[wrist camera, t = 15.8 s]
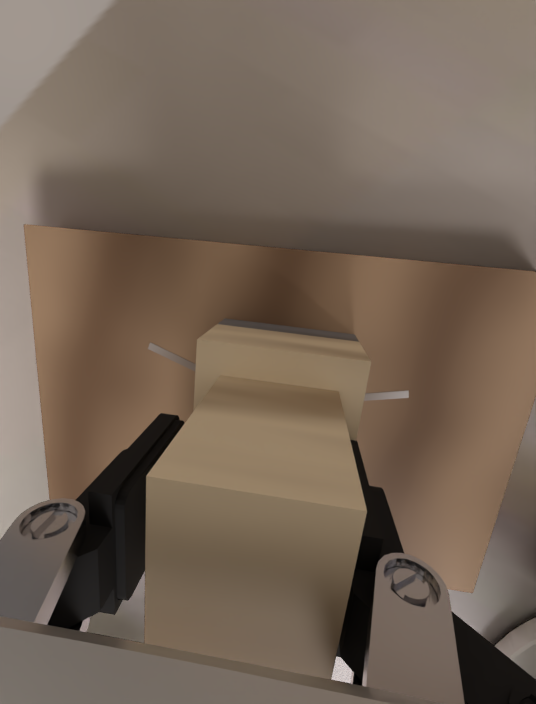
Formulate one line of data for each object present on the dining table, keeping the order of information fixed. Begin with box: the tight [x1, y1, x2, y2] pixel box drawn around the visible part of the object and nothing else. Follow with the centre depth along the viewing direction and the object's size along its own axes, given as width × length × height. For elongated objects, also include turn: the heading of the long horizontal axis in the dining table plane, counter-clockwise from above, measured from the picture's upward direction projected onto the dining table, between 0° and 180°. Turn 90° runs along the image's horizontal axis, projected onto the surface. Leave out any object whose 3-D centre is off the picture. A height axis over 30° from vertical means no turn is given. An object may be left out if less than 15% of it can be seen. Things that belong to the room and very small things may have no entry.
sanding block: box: [144, 318, 371, 680], centre depth 10 cm, size 8×5×9 cm, turn 174°
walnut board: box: [24, 224, 536, 593], centre depth 16 cm, size 20×14×2 cm
